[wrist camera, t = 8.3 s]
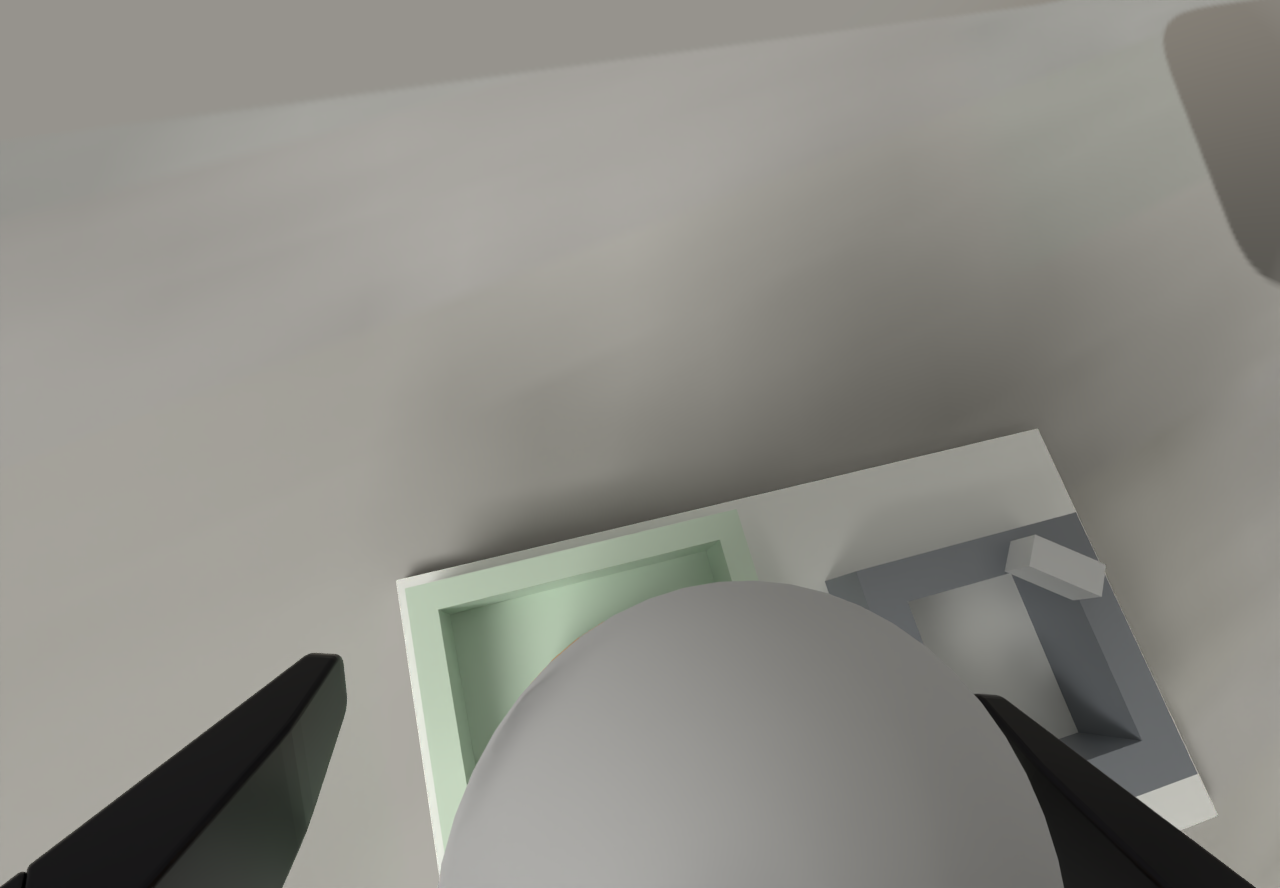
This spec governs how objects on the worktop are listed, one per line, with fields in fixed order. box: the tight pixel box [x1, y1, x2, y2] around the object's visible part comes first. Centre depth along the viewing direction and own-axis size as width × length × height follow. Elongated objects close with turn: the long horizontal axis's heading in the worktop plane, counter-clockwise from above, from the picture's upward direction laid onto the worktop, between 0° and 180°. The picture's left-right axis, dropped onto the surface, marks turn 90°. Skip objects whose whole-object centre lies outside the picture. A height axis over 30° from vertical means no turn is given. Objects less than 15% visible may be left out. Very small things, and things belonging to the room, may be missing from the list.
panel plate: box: [396, 428, 1218, 876], centre depth 18 cm, size 21×12×1 cm, turn 105°
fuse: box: [438, 581, 1064, 888], centre depth 11 cm, size 4×4×14 cm
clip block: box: [825, 512, 1198, 797], centre depth 18 cm, size 7×7×4 cm
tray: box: [405, 509, 759, 853], centre depth 17 cm, size 9×9×3 cm
